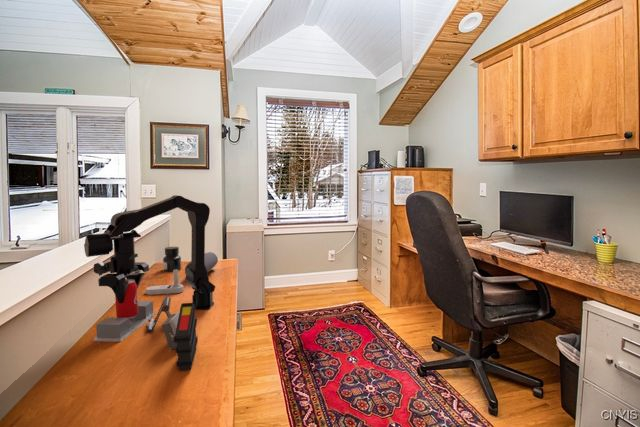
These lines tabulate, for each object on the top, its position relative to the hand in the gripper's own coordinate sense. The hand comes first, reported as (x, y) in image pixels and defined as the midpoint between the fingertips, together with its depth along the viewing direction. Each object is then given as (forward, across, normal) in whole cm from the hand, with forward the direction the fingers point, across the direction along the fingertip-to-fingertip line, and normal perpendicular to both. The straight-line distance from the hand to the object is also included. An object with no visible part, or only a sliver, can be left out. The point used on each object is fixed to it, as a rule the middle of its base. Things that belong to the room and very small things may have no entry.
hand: (126, 299), depth 110 cm
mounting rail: (+9, 0, 0) cm, 9 cm away
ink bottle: (+10, -71, -17) cm, 74 cm away
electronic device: (+10, -34, -4) cm, 36 cm away
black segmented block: (+9, +22, +28) cm, 37 cm away
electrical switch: (+9, +12, +21) cm, 26 cm away
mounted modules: (+9, 0, 0) cm, 9 cm away
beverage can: (+6, 0, 0) cm, 6 cm away
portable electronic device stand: (+10, -1, +10) cm, 14 cm away
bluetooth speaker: (+10, -62, +3) cm, 63 cm away
